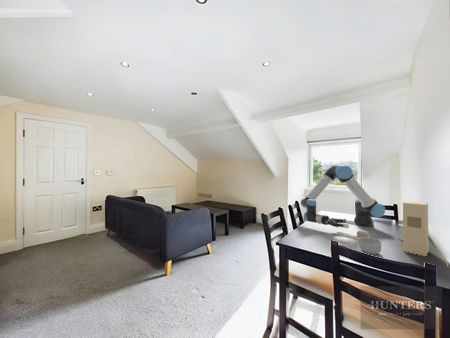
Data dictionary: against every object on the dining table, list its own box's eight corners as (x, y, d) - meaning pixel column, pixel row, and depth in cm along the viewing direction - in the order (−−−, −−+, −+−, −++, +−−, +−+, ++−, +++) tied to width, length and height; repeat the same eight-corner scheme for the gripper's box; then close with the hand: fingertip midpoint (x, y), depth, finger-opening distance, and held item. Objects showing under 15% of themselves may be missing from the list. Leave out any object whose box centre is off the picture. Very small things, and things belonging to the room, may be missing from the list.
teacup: (380, 258, 112) (380, 243, 112) (357, 252, 119) (357, 239, 120) (382, 250, 123) (382, 237, 123) (361, 246, 130) (361, 234, 130)
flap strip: (338, 233, 157) (338, 226, 157) (371, 241, 140) (371, 233, 140) (336, 234, 154) (336, 227, 154) (370, 242, 137) (370, 234, 137)
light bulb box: (419, 244, 133) (419, 228, 133) (407, 243, 134) (407, 227, 134) (408, 239, 143) (408, 224, 144) (397, 238, 145) (397, 223, 145)
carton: (406, 246, 129) (406, 200, 129) (428, 251, 121) (427, 202, 122) (403, 251, 121) (402, 202, 122) (426, 256, 114) (425, 204, 114)
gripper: (329, 221, 172) (357, 226, 156) (315, 226, 156) (345, 233, 140) (329, 213, 172) (357, 217, 156) (315, 217, 156) (345, 222, 140)
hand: (351, 224), depth 148 cm, fingers open, 13 cm apart
